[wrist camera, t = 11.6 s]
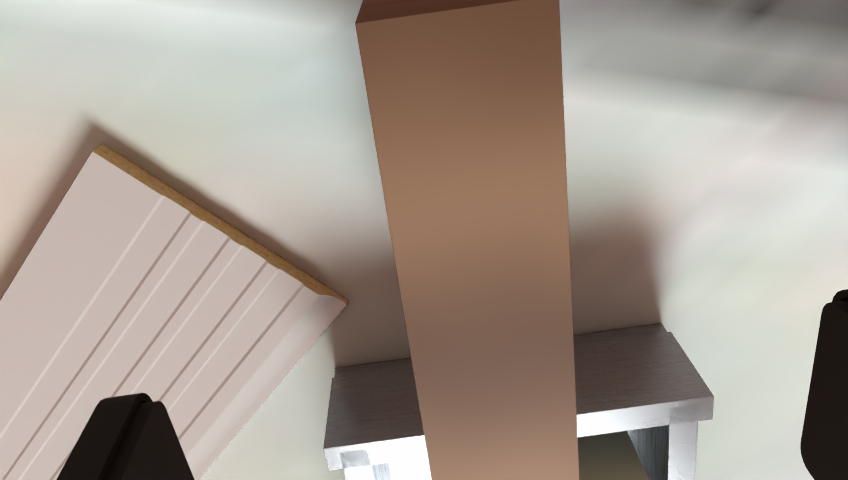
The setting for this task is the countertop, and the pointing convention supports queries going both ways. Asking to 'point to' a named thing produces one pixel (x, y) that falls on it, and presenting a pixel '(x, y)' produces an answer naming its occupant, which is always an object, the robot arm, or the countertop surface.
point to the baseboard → (145, 320)
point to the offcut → (609, 458)
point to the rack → (595, 407)
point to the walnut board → (479, 226)
